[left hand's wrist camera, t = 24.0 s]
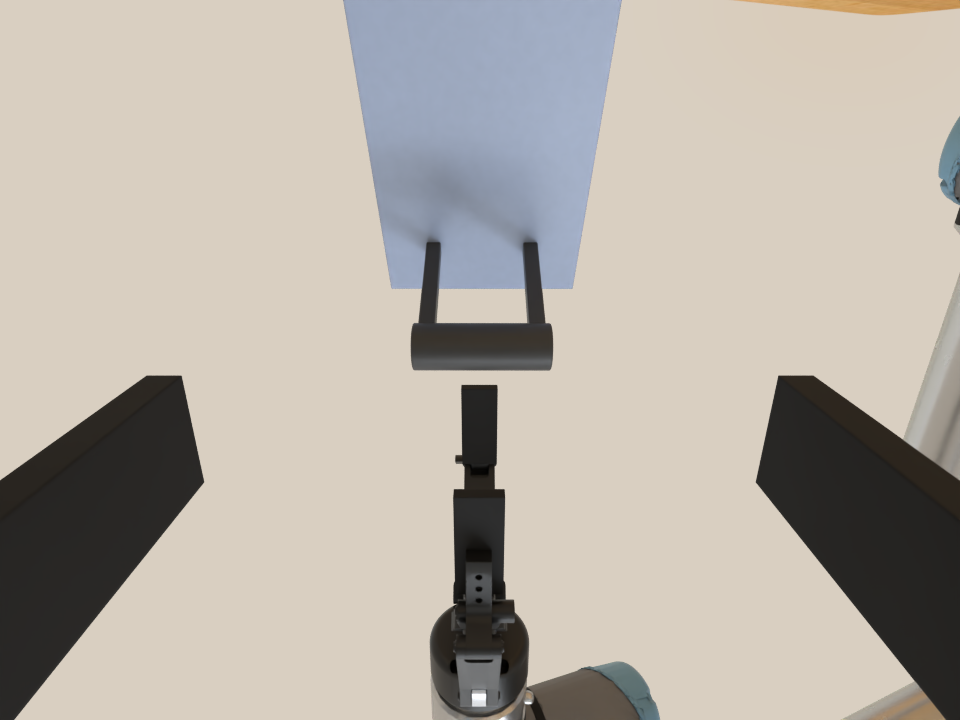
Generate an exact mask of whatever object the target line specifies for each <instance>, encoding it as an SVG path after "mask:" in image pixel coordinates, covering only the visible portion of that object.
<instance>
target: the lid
mask: <svg viewBox="0 0 960 720" xmlns="http://www.w3.org/2000/svg"><path fill="white" fill-rule="evenodd" d="M343 1H344V7H345V13H346V19H347V25H348V31H349V37H350V43H351V49H352V55H353V61H354V67H355V73H356V79H357V85H358V91H359V97H360V103H361V109H362V115H363V121H364V127H365V133H366V139H367V145H368V151H369V156H370V162H371V168H372V174H373V180H374V186H375V192H376V198H377V204H378V210H379V216H380V222H381V228H382V234H383V240H384V246H385V252H386V258H387V264H388V270H389V276H390V282H391V288H392V289H405V288H406V289H422V293H421V303H420V313H419V323H414V324H413V326H412V331H411V362H412V367H413V370H550V369H551V367H552V360H553V332H552V326H551V324H549V323H545V314H544V304H543V293H542V289H572V288H573V282H574V277H575V271H576V264H577V259H578V253H579V247H580V241H581V236H582V230H583V224H584V218H585V212H586V206H587V200H588V194H589V189H590V183H591V177H592V171H593V165H594V159H595V153H596V148H597V142H598V136H599V130H600V124H601V118H602V112H603V107H604V101H605V95H606V89H607V83H608V77H609V71H610V65H611V60H612V54H613V48H614V42H615V36H616V30H617V24H618V19H619V13H620V7H621V1H622V0H343ZM439 289H525V294H526V309H527V323H436V322H437V308H438V294H439Z"/></svg>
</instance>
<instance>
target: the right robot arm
mask: <svg viewBox="0 0 960 720" xmlns="http://www.w3.org/2000/svg"><path fill="white" fill-rule="evenodd" d="M939 177H940V178H941V179H943V180H942V182H941V184H940V186H941V190H942V192H943V193H944V195H945V196H946V197H947V198H949V199H950V200H952V201H953V202H954V203H956V204H958V205H960V117H959V118H958V120H957V121H956V123H955V125H954V126H953V128H952V130H951V132H950V134H949V136H948V138H947V140H946V143H945V145H944V148H943V151H942V154H941V158H940V163H939ZM954 228H955V229H956V230H957V231H958V233H959V234H960V208H959V211H958V214H957V218H956V220H955V224H954ZM497 390H498V389H497V385H462V388H461V397H462V398H461V399H462V455H456V457H455V462H456V464H463V466H464V467H465V480H464V489H454V495H453V507H454V554H455V582H454V592H453V593H454V594H453V602H454V604H456V605H454V606H453V607H451V608H449V609H448V610H446V611H445V612H444V613H443V614H442V615H441V616H440V617H439V618H438V620H437V621H436V623H435V625H434V627H433V629H432V632H431V636H430V660H431V698H432V718H433V720H660V717H659V713H658V709H657V706H656V703H655V702H654V701H653V699H652V697H651V695H650V690H649V687H648V685H647V684H646V682H645V680H644V679H643V678H642V676H641V675H640V674H639V673H638V672H637V671H636V670H635V669H634V668H633V667H632V666H630V665H629V664H627V663H624V662H612V663H608V664H604V665H600V666H596V667H590V666H589V667H584V668H581V669H579V670H578V671H575V672H572V673H569V674H566V675H563V676H560V677H557V678H554V679H551V680H548V681H545V682H541V683H538V684H535V685H532V686H529V687H526V685H527V674H528V657H529V637H528V632H527V629H526V627H525V625H524V623H523V621H522V620H521V619H520V617H519V616H518V615H517V614H516V613H515V609H514V600H506V594H505V582H504V581H503V577H504V526H505V490H504V489H495V468H494V466H496V464H497ZM903 440H904V441H905V442H907V443H908V444H910V445H911V446H912V447H914V448H915V449H917V450H918V451H919V452H921V453H922V454H924V455H925V456H926V457H928V458H929V459H931V460H932V461H933V462H935V463H936V464H938V465H939V466H940V467H942V468H943V469H945V470H946V471H947V472H949V473H950V474H952V475H953V476H954V477H956V478H957V479H959V480H960V274H959V277H958V280H957V283H956V286H955V289H954V292H953V295H952V298H951V300H950V303H949V306H948V309H947V312H946V315H945V318H944V321H943V324H942V327H941V330H940V333H939V336H938V339H937V342H936V345H935V347H934V350H933V353H932V356H931V359H930V362H929V365H928V368H927V371H926V374H925V377H924V380H923V383H922V386H921V388H920V391H919V394H918V397H917V400H916V403H915V406H914V409H913V412H912V415H911V418H910V421H909V424H908V427H907V430H906V432H905V435H904V438H903ZM842 720H946V719H945V718H944V717H943V716H942V714H941V713H940V712H939V711H938V709H937V708H936V707H935V706H934V704H933V703H932V702H931V701H930V699H929V698H928V697H927V696H926V694H925V693H924V692H923V691H922V689H921V688H920V687H919V686H918V684H917V683H916V682H913V683H911V684H909V685H907V686H905V687H903V688H901V689H899V690H897V691H895V692H894V693H892V694H890V695H888V696H886V697H884V698H882V699H880V700H878V701H876V702H874V703H872V704H871V705H869V706H867V707H865V708H863V709H861V710H859V711H857V712H855V713H853V714H851V715H849V716H847V717H845V718H844V719H842Z"/></svg>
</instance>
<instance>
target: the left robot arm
mask: <svg viewBox="0 0 960 720" xmlns="http://www.w3.org/2000/svg"><path fill="white" fill-rule="evenodd" d="M203 483H204V479H203V474H202V470H201V465H200V460H199V455H198V451H197V446H196V441H195V437H194V432H193V427H192V423H191V418H190V413H189V409H188V404H187V399H186V394H185V390H184V385H183V380H182V376H146V377H144V378H143V379H141V380H140V381H139V382H137V383H136V384H134V385H133V386H132V387H130V388H129V389H127V390H126V391H125V392H123V393H122V394H120V395H119V396H118V397H116V398H115V399H113V400H112V401H111V402H109V403H108V404H106V405H105V406H104V407H102V408H101V409H99V410H98V411H97V412H95V413H94V414H92V415H91V416H90V417H88V418H87V419H85V420H84V421H83V422H81V423H80V424H78V425H77V426H76V427H74V428H73V429H71V430H70V431H69V432H67V433H66V434H64V435H63V436H62V437H60V438H59V439H57V440H56V441H55V442H53V443H52V444H50V445H49V446H48V447H46V448H45V449H43V450H42V451H41V452H39V453H38V454H36V455H35V456H34V457H32V458H31V459H29V460H28V461H27V462H25V463H24V464H22V465H21V466H20V467H18V468H17V469H15V470H14V471H13V472H11V473H10V474H9V475H7V476H6V477H4V478H3V479H1V480H0V720H14V719H15V718H16V717H17V716H18V714H19V713H20V712H21V711H22V709H23V708H24V707H25V706H26V704H27V703H28V702H29V701H30V699H31V698H32V697H33V696H34V694H35V693H36V692H37V691H38V689H39V688H40V687H41V686H42V684H43V683H44V682H45V681H46V679H47V678H48V677H49V676H50V674H51V673H52V672H53V671H54V669H55V668H56V667H57V666H58V664H59V663H60V662H61V661H62V659H63V658H64V657H65V656H66V654H67V653H68V652H69V651H70V649H71V648H72V647H73V646H74V644H75V643H76V642H77V641H78V639H79V638H80V637H81V636H82V634H83V633H84V632H85V631H86V629H87V628H88V627H89V626H90V624H91V623H92V622H93V621H94V619H95V618H96V617H97V616H98V614H99V613H100V612H101V611H102V609H103V608H104V607H105V605H106V604H107V603H108V602H109V600H110V599H111V598H112V597H113V596H114V594H115V593H116V592H117V591H118V589H119V588H120V587H121V585H122V584H123V583H124V582H125V581H126V579H127V578H128V577H129V576H130V574H131V573H132V572H133V571H134V569H135V568H136V567H137V566H138V564H139V563H140V562H141V561H142V559H143V558H144V557H145V556H146V554H147V553H148V552H149V551H150V549H151V548H152V547H153V546H154V544H155V543H156V542H157V540H158V539H159V538H160V537H161V536H162V534H163V533H164V532H165V531H166V529H167V528H168V527H169V526H170V524H171V523H172V522H173V521H174V519H175V518H176V517H177V516H178V514H179V513H180V512H181V511H182V509H183V508H184V507H185V506H186V504H187V503H188V502H189V500H190V499H191V498H192V497H193V496H194V494H195V493H196V492H197V491H198V489H199V488H200V487H201V486H202V484H203ZM756 483H757V484H758V485H759V487H760V488H761V489H762V491H763V492H764V493H765V494H766V496H767V497H768V498H769V499H770V501H771V502H772V503H773V504H774V506H775V507H776V508H777V509H778V510H779V512H780V513H781V514H782V516H783V517H784V518H785V519H786V520H787V522H788V523H789V524H790V526H791V527H792V528H793V529H794V531H795V532H796V533H797V534H798V536H799V537H800V538H801V539H802V541H803V542H804V543H805V544H806V546H807V547H808V548H809V549H810V551H811V552H812V553H813V554H814V556H815V557H816V558H817V559H818V561H819V562H820V563H821V564H822V566H823V567H824V568H825V569H826V571H827V572H828V573H829V574H830V576H831V577H832V578H833V579H834V581H835V582H836V583H837V584H838V586H839V587H840V588H841V589H842V591H843V592H844V593H845V594H846V596H847V597H848V598H849V599H850V601H851V602H852V603H853V604H854V606H855V607H856V608H857V609H858V610H859V612H860V613H861V614H862V616H863V617H864V618H865V619H866V621H867V622H868V623H869V624H870V626H871V627H872V628H873V629H874V631H875V632H876V633H877V634H878V636H879V637H880V638H881V639H882V641H883V642H884V643H885V644H886V646H887V647H888V648H889V649H890V651H891V652H892V653H893V654H894V656H895V657H896V658H897V659H898V661H899V662H900V663H901V664H902V666H903V667H904V668H905V669H906V671H907V672H908V673H909V674H910V676H911V677H912V678H913V679H914V681H915V682H916V683H917V684H918V686H919V687H920V688H921V689H922V691H923V692H924V693H925V694H926V696H927V697H928V698H929V699H930V701H931V702H932V703H933V704H934V706H935V707H936V708H937V709H938V711H939V712H940V713H941V714H942V716H943V717H944V718H945V719H946V720H960V480H959V479H957V478H956V477H954V476H953V475H952V474H950V473H949V472H947V471H946V470H945V469H943V468H942V467H940V466H939V465H938V464H936V463H935V462H933V461H932V460H931V459H929V458H928V457H926V456H925V455H924V454H922V453H921V452H919V451H918V450H917V449H915V448H914V447H912V446H911V445H910V444H908V443H907V442H905V441H904V440H903V439H901V438H900V437H898V436H897V435H896V434H894V433H893V432H891V431H890V430H889V429H887V428H886V427H884V426H883V425H882V424H880V423H879V422H877V421H876V420H875V419H873V418H872V417H870V416H869V415H868V414H866V413H865V412H863V411H862V410H861V409H859V408H858V407H856V406H855V405H854V404H852V403H851V402H849V401H848V400H847V399H845V398H844V397H842V396H841V395H840V394H838V393H837V392H835V391H834V390H833V389H831V388H830V387H828V386H827V385H826V384H824V383H823V382H821V381H820V380H819V379H817V378H816V377H814V376H778V380H777V385H776V390H775V394H774V399H773V404H772V409H771V413H770V418H769V423H768V427H767V432H766V437H765V441H764V446H763V451H762V455H761V460H760V465H759V470H758V474H757V479H756Z"/></svg>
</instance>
